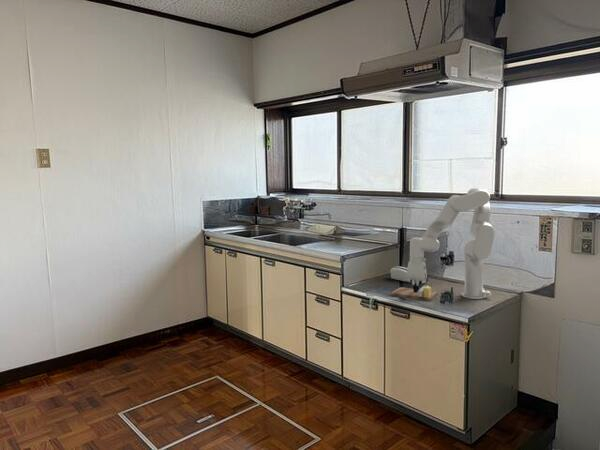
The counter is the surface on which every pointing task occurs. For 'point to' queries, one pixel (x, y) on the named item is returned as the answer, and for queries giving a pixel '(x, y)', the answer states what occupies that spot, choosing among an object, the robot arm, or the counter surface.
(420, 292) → the latch bar
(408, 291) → the brown wooden board
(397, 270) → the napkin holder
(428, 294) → the keeper block
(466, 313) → the counter surface
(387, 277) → the counter surface
